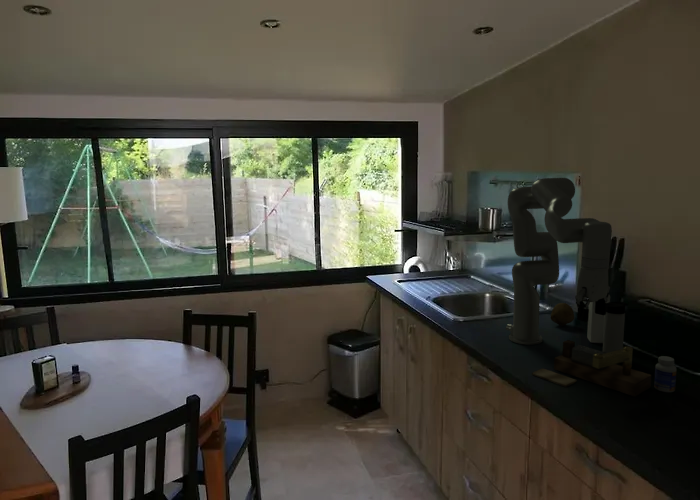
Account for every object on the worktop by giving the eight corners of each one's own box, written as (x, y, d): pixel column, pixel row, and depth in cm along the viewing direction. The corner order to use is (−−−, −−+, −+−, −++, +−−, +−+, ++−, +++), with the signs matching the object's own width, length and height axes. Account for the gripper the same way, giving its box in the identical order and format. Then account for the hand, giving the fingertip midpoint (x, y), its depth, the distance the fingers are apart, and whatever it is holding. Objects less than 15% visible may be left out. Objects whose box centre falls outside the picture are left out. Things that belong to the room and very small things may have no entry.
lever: (625, 371, 151) (627, 344, 150) (632, 374, 149) (634, 347, 148) (590, 381, 145) (592, 354, 144) (597, 384, 143) (599, 356, 142)
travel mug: (625, 360, 169) (629, 305, 166) (605, 360, 171) (608, 304, 168) (619, 354, 176) (623, 300, 172) (600, 353, 177) (603, 299, 174)
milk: (590, 342, 188) (593, 287, 184) (587, 337, 193) (589, 283, 190) (607, 343, 186) (610, 287, 182) (603, 338, 192) (606, 283, 188)
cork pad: (531, 374, 161) (531, 372, 161) (542, 369, 164) (542, 368, 164) (565, 387, 151) (565, 385, 151) (576, 381, 155) (576, 380, 154)
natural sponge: (579, 327, 205) (580, 304, 203) (563, 330, 202) (564, 307, 200) (562, 321, 213) (563, 299, 212) (546, 324, 210) (547, 302, 208)
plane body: (553, 369, 165) (554, 343, 163) (570, 361, 170) (571, 337, 169) (634, 396, 144) (636, 367, 142) (650, 387, 149) (652, 359, 148)
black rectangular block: (571, 361, 161) (571, 348, 160) (578, 357, 163) (579, 344, 163) (601, 370, 153) (602, 356, 152) (608, 366, 155) (609, 353, 155)
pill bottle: (675, 394, 144) (677, 363, 143) (653, 390, 147) (656, 360, 146) (674, 387, 149) (677, 357, 147) (653, 383, 152) (656, 353, 150)
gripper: (598, 257, 154) (595, 309, 157) (566, 265, 145) (563, 320, 148) (622, 260, 148) (618, 314, 151) (591, 269, 139) (587, 326, 142)
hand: (591, 317), depth 149 cm, fingers open, 9 cm apart
